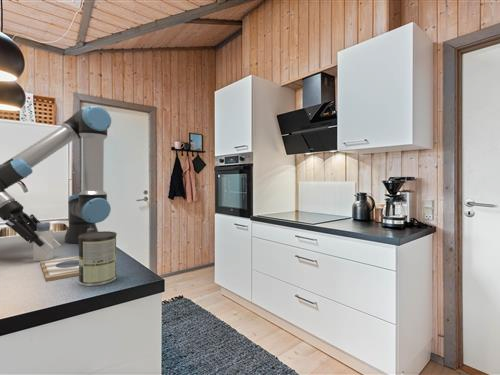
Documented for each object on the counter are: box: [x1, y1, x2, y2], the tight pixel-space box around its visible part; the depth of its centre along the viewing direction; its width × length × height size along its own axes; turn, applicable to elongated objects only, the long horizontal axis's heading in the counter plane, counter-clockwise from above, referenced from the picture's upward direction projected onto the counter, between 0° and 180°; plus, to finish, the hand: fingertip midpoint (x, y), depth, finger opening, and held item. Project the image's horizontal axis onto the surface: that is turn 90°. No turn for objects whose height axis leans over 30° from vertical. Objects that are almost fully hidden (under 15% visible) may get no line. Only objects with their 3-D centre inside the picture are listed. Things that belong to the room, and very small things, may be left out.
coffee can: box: [78, 230, 117, 287], centre depth 86 cm, size 10×10×14 cm
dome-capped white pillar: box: [32, 221, 54, 262], centre depth 108 cm, size 4×4×14 cm
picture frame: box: [39, 255, 79, 282], centre depth 98 cm, size 22×16×1 cm
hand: (54, 249), depth 108 cm, fingers closed on dome-capped white pillar, 4 cm apart
